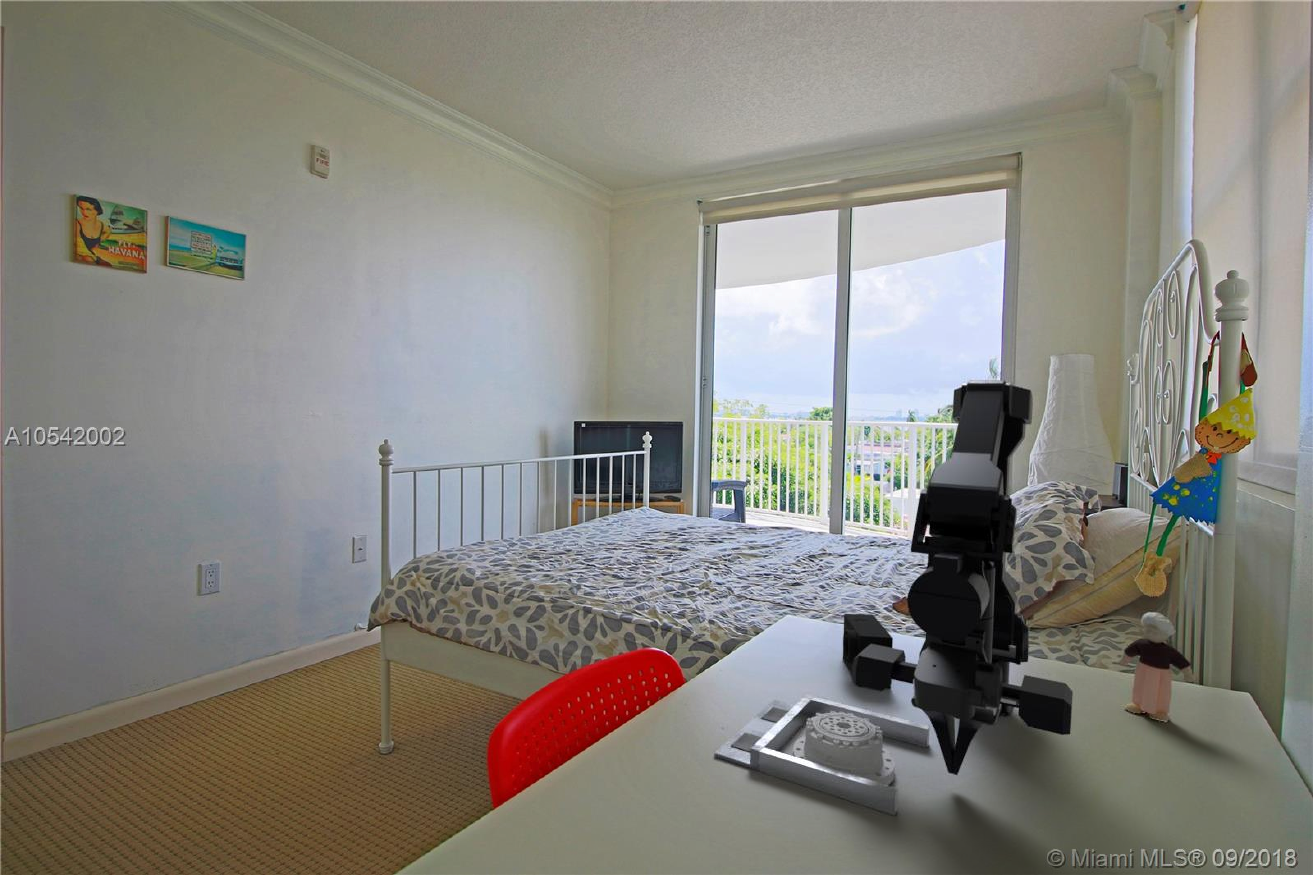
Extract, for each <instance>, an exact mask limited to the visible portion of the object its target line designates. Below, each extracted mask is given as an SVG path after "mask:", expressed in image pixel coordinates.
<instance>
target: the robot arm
mask: <svg viewBox="0 0 1313 875" xmlns="http://www.w3.org/2000/svg"><path fill="white" fill-rule="evenodd" d="M1033 404H1034V403H1033V393H1032V390H1031V389H1028V388H1023V387H1022V386H1017V385H1013V384H1012V382H1007V381H1006V380H1005V379H1000V380H999V379H998V380H997V379H995V380H994V379H991V380H989V379H988V380H987V379H985V380H984V379H981V380H979V379H978V380H977V379H976V380H973V379H972V380H969V381H968V382H962V385H961V387H958V388H956V389H953V400H952V413H951V414H952V417H951V419H952V420H953V421H954V422H955V423H957V426H956V427H957V428H956V432H955V436H954V440H953V443H952V449H951V453H950V456H949V459H947V460H946V461H944V462H942V463H941V464H940V465H939V464H938V466H936V467H934V468H933V469H932V473H931V475H930V478H929V481H928V483H927V487H926V489H925V488H922V489H921V491H920V495H919V498H918V504H917V508H916V509H917V511H916V516H915V521H914V527H913V533H912V538H911V545H910V552H911V553H913V554H914V553H915V554H924V555H927V566H926V568H925V570H924V571H923V572H922V573H921V574H920V575H919V576H918V577H917V578H916V579H915V580H914V581H913V582H912V583H911V585H910V588H909V591H908V593H907V597H906V598H907V599H906V603H907V608H908V613H909V615H910V617H911V618H912V620H913V622H914V623H915V625H917V626H918V628H920V630H921V631H923V632H924V633H925V639H924V642H923V645H922V647H921V649H920V652H919V654H918V655H919V656H918V660H917V664H916V663H912V662H907V661H906V654H905V651H904V650H903V649H899V648H895V647H894V648H893V647H892V648H889V647H884V646H879V645H875V644H870V645H869V646H868V647H866V648H865V649H864V650H863V651H862V652H861V653H860V654H859V655H858V656H857V657H856V658H855V659H854V661H853V665H852V675H851V683H852V684H853V685H854V686H857V687H858V686H860V687H859V688H865V689H869V690H873V691H878V692H883V691H885V690H887V689H886V688H888V687H889V686H890V685H891V686H892V684H893V680H894V681H898V682H903V683H907V684H911V685H913V697H911V700H910V703H911V705H912V706H913V707H914V708H917V709H920V710H921V711H922V712H924V714H925V715H926V716H927V719H929V721H930V724H931V726H932V728H933V730H934V733H935V735H936V738H937V741H938V745H939V747H940V750H941V754H942V758H943V760H944V764H945V766H946V770H947V773H948V774H952V775H955V776H958V775H959V772H960V769H961V768H962V764H963V762H964V759H965V757H966V755H967V752H968V750H969V747H970V745H971V743H972V741H973V739H974V737H975V736H976V734H977V732H978V731H979V730H980V729H981V727H982V726H983V725H987V726H995V725H996V724H997V721H998V719H999V715H1003V716H1010V713H1011V709H1012V708H1017V709H1018V712H1017V713H1018V717H1019V718H1020V720H1022V721H1023V723H1024V724H1025V725H1026V726H1027V727H1028V728H1031V729H1037V730H1040V731H1044V732H1049V733H1053V734H1057V735H1062V736H1064V735H1067V736H1068V735H1071V730H1072V728H1071V727H1072V715H1073V714H1072V713H1073V698H1074V697H1073V696H1074V695H1073V690H1072V689H1071V688H1070V686H1069V685H1068V684H1067V683H1066V682H1061V681H1056V680H1051V679H1047V678H1041V677H1038V676H1037V677H1036V676H1031V675H1026V674H1024V675H1023V678H1022V681H1021V682H1022V683H1021V686H1020V685H1015V684H1010V683H1009V682H1010V663H1011V664H1015V665H1018V666H1021V665H1022V663H1028V662H1029V653H1030V652H1029V647H1030V646H1029V645H1030V644H1029V643H1030V642H1029V641H1030V640H1029V639H1030V638H1029V637H1030V636H1029V635H1030V628H1029V626H1028V625H1027V624H1026V623H1025V622H1026V621H1025V620H1024V614H1022V613H1018V608H1019V606H1018V603H1019V602H1018V600H1019V599H1018V596H1017V594H1016V592H1015V591H1014V589H1013V587H1012V585H1011V584H1010V582H1009V581H1008V579H1007V577H1006V553H1007V554H1013V552H1014V551H1013V550H1014V541H1015V532H1016V524H1017V515H1018V514H1017V511H1018V510H1017V507H1016V506H1014V505H1013V498H1011V495H1009V492H1010V491H1009V488H1010V463H1011V458H1012V456H1013V455H1014V454H1015V452H1016V451H1017V450H1018V448H1019V446H1021V444H1022V442H1023V441H1024V440H1025V438H1026V426H1027V425H1032V421H1033V406H1034V405H1033ZM928 526H929V527H928ZM927 529H928V535H926V533H927ZM1011 646H1013V647H1011ZM955 719H957V720H959V722H958V730H957V735H956V727H955V726H956V724H955V723H956V722H955V721H956V720H955Z"/></svg>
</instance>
